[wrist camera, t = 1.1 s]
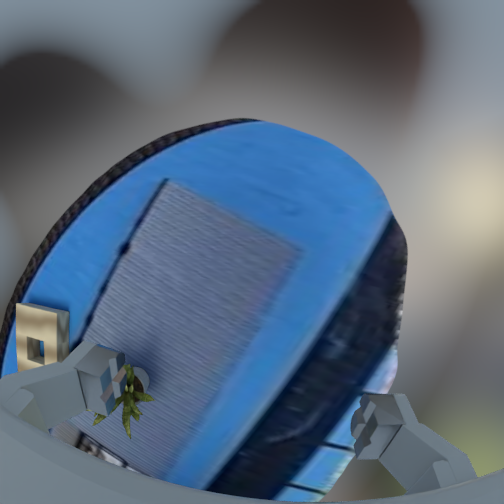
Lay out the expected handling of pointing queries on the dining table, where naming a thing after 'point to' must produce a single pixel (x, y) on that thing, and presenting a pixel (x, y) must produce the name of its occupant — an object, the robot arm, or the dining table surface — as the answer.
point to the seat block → (40, 335)
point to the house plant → (131, 396)
